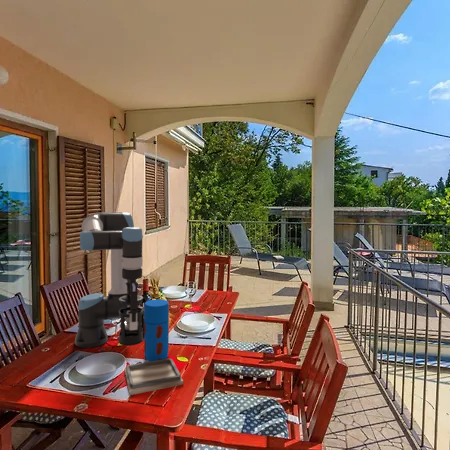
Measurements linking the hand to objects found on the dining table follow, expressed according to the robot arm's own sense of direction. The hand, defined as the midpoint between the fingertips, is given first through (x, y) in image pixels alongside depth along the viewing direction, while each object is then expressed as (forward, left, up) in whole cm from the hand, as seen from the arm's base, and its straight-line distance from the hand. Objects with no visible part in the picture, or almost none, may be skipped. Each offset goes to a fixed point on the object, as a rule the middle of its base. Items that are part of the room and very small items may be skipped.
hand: (132, 325), depth 129 cm
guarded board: (0, +8, -23) cm, 24 cm away
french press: (0, 0, -6) cm, 6 cm away
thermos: (-18, +13, -23) cm, 32 cm away
